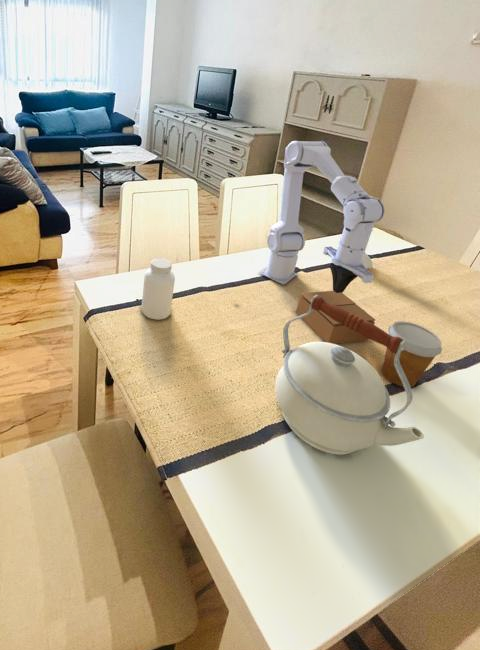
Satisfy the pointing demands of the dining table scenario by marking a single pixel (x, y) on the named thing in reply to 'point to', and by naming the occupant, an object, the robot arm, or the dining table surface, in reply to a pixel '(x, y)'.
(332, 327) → the carton
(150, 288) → the pill bottle
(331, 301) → the flap
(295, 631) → the dining table surface
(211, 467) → the dining table surface
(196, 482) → the dining table surface
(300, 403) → the kettle
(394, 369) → the disposable coffee cup
